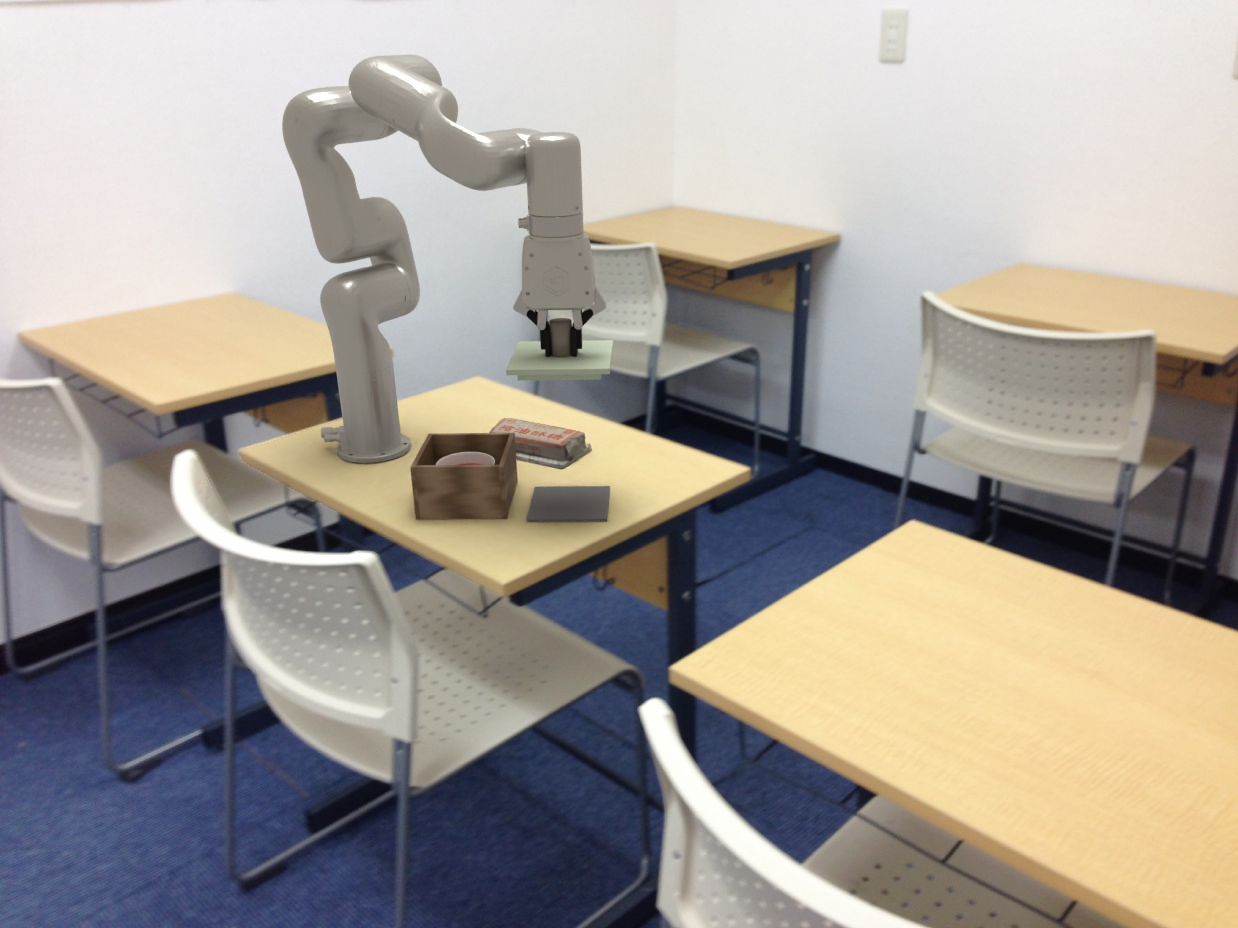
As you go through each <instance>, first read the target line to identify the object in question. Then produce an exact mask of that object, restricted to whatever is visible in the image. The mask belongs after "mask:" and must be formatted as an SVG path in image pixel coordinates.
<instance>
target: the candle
mask: <svg viewBox="0 0 1238 928" xmlns="http://www.w3.org/2000/svg"><path fill="white" fill-rule="evenodd" d="M436 465H495V459H494V458H493V457H492V456H490V455H488V454H485V453H480V452H461V453H455V454H451V455H448V456H445V457H443V458H441V459H440V460H439V461H438V462H437V463H436Z"/></svg>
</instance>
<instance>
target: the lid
mask: <svg viewBox="0 0 1238 928" xmlns="http://www.w3.org/2000/svg"><path fill="white" fill-rule="evenodd" d="M548 322H549V326H550V343H551V356H549V357H546V356H545V350H541V342H540V340H535V341H534V340H532V341H527V340H523V341H517V344H516V346H515V349H514V351H513V354H512V356H511V358H510V360H509V362H508V364H507V367H506V369H505V372H506V375H505V376H517V381H583V380H586V381H589V380H590V381H591V380H592V381H593V380H602V375H610V374H611V367H612V366H611V365H612V358H613V349H614V340H613V339H611V340H610V339H609V340H607V339H605V340H604V339H603V340H602V339H601V340H600V339H598V340H597V339H596V340H582V349H578V354H577V356H572V347H571V329H572V324H573V319H571V318H568V317H557V318H556V317H555V318H552V319H550V320H549V321H548Z"/></svg>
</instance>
